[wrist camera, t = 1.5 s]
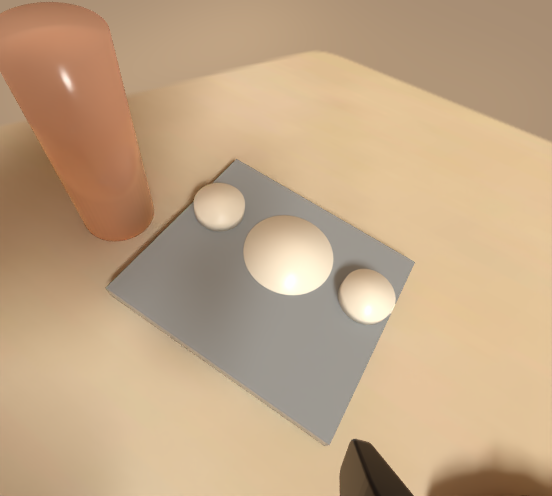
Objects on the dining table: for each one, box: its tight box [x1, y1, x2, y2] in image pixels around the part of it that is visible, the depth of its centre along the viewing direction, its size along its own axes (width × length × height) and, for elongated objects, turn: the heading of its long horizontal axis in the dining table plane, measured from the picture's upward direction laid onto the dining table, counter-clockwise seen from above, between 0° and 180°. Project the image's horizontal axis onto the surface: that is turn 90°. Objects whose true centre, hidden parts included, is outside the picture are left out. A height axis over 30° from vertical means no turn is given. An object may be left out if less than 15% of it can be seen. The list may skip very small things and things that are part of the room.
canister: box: [0, 2, 154, 241], centre depth 21 cm, size 5×5×13 cm
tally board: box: [106, 159, 415, 446], centre depth 24 cm, size 14×16×2 cm
